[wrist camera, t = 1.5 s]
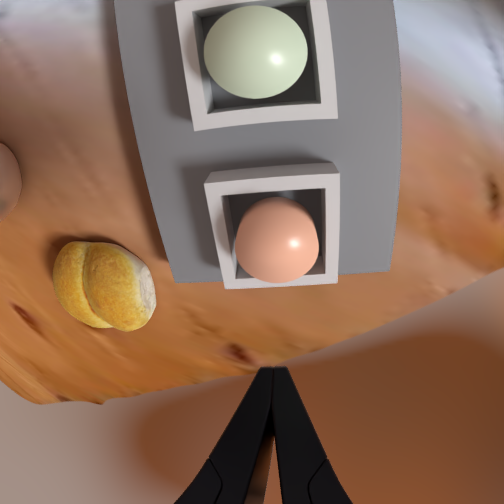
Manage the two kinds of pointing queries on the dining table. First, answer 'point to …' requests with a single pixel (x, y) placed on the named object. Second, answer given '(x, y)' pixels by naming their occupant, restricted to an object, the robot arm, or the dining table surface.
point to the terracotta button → (276, 240)
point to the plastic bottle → (8, 181)
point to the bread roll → (104, 285)
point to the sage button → (255, 52)
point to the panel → (267, 135)
